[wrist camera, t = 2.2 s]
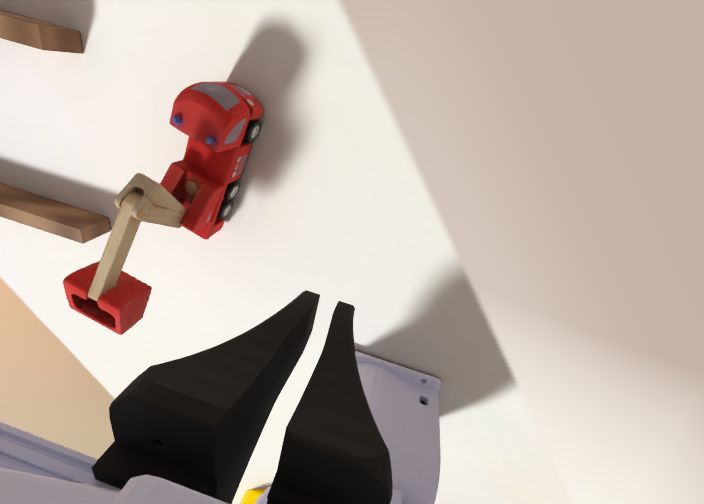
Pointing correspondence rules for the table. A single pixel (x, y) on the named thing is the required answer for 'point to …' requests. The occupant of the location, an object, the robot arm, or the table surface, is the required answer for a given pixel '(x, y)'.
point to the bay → (26, 204)
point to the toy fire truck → (172, 198)
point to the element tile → (251, 496)
